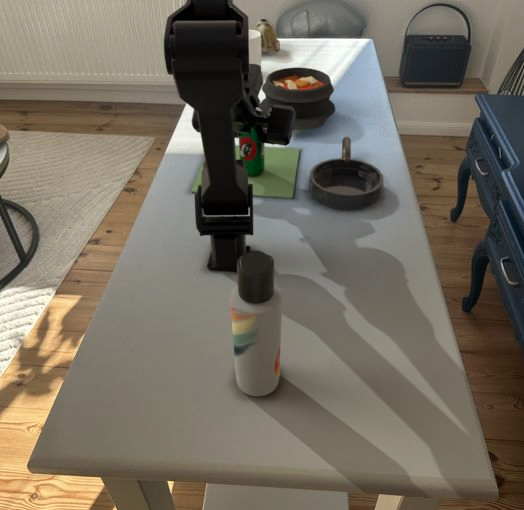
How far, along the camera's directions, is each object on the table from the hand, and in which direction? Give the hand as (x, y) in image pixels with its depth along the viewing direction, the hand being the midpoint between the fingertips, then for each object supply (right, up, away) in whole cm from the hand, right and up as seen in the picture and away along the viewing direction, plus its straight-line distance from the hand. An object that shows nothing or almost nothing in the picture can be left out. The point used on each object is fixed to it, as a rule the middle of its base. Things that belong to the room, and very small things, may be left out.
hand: (254, 137), depth 96 cm
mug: (-3, +36, +41) cm, 55 cm away
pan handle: (+19, -1, +5) cm, 20 cm away
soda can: (0, -5, +4) cm, 7 cm away
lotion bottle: (+1, -46, -32) cm, 56 cm away
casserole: (+10, +15, +23) cm, 29 cm away
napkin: (-1, -5, +5) cm, 7 cm away
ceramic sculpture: (+2, +53, +50) cm, 73 cm away
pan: (+18, -11, -1) cm, 21 cm away
